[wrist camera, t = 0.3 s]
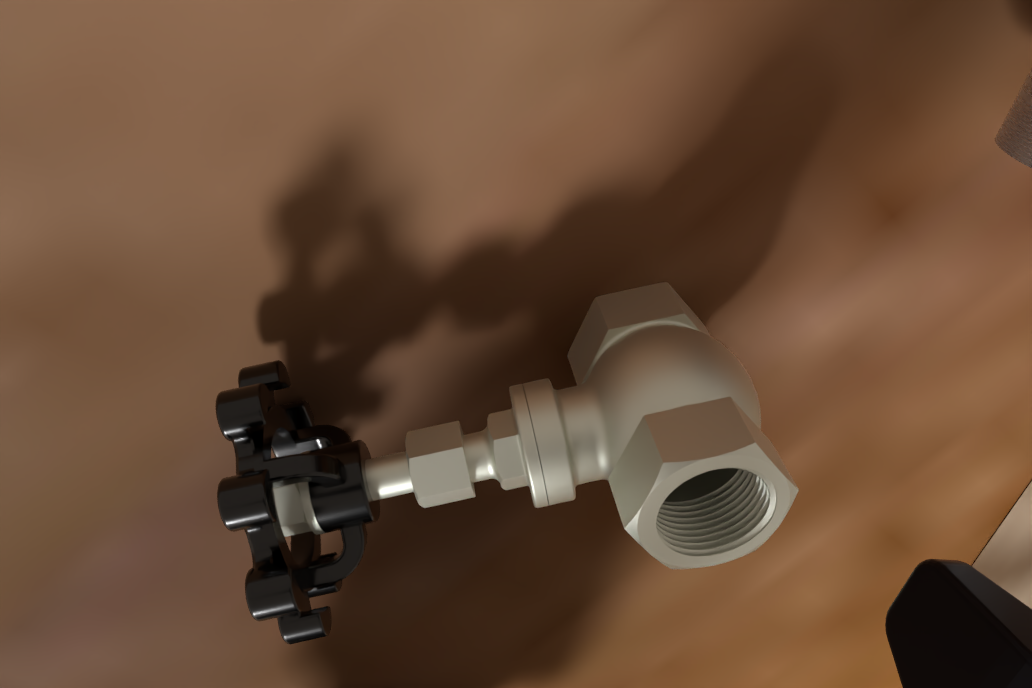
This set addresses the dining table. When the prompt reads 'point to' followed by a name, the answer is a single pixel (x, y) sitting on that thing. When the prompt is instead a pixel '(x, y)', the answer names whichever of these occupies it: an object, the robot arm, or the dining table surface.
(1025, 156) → the pipe stand
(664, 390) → the valve
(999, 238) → the dining table surface
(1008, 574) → the fence
